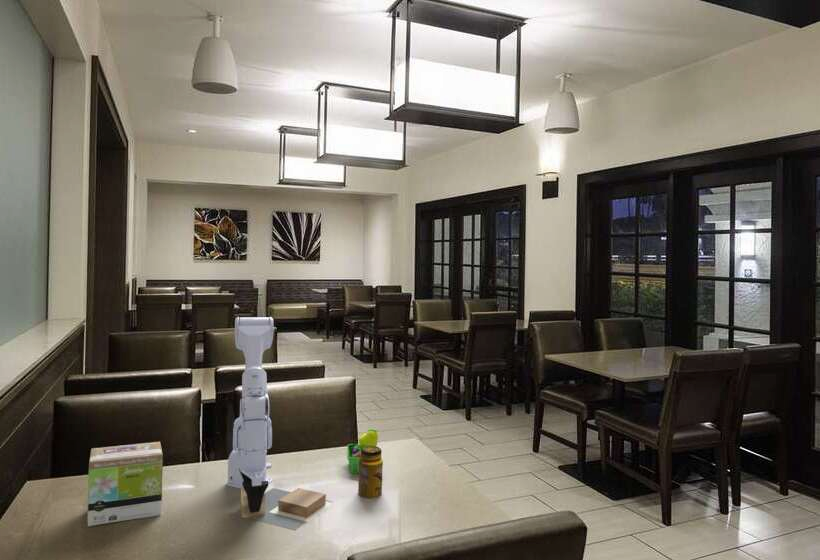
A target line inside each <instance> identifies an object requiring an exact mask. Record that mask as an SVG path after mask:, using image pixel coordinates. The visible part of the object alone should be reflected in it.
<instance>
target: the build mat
mask: <svg viewBox="0 0 820 560" xmlns="http://www.w3.org/2000/svg"><path fill="white" fill-rule="evenodd" d="M291 492H292V491H288V490H283V489H279V488H274V487H273V488H271V489H269V490H268V491H265V515H260V516H252V517H245V518H246V519H250V520H254V521H258V522H262V523H265V524H269V525H273V526H277V527H280V528H284V529H288V530H293V531H297V530H298V529H299V528H300V527H302V526H303V525H304V524H306V523H310V522H311V521H312V520H314V519H315V518H317V517H318V516H320V514H322V513H323V512H324V511H326V510H327V509H328V508H330V507H331V506H332V505H334V504H335V503H334V501H331V500H326V504H325V505H324V506H323V507H321V508H320V509H318V510H317V511H316V512H314V513H313V514H312V515H310V516H309V517H307V518H305V517H301V516H297V515H293V514H289V513H285V512H281V511H278V500H280V499H281V498H283V497H285V496H286V495H288V494H289V493H291ZM230 514H232V515H235V516H239V517H242V512H241V506H240V507H239V508H237V509H235V510H234V511H232V512H230Z"/></svg>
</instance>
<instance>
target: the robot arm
mask: <svg viewBox="0 0 820 560" xmlns="http://www.w3.org/2000/svg"><path fill="white" fill-rule="evenodd" d="M274 326H275V325H274V318H273V317H272V316H269V317H266V316H265V317H262V316H261V317H255V316H254V317H246V316H245V317H242V316H241V317H239V316H237V317H236V318H235V320H234V340H235V341H234V343H235V347H236V349H237V350H239V351H242V352H243V355H244V358H245V360H244V361H245V368H244V372H243V373H242V375H241V377H242V378H241V379H242V380H241V384H242V385H241V399H240V400H239V417H237V418H235V420H234V422H233V429H232V431H233V432H232V451H231V452H230V454H229V455H228V460H227V482H225V486H229V487H233V488H237V489H240V490H241V488H244V490H245V492H246V494H247V498H248V506H249V510H250V513H254V512H259V511H260V508H261V503H262V499H263V495H264V493H266V490H267V489H268V487H269V484H271V483H272V482H273V481H274V480H273V479H272V478H267V470H269V469H271V468H272V463H271V462H267V454H268V450H269V449H271V448H272V447H273V445H272V444H273V427H272V420H271V418H270V399H269V398H270V397H269V392H268V382H267V381H268V378H267V376H268V375H267V372H266V370H264V369H263V367H262V365H263V364H262V363H263V354H264V352H265V351H266V350H269V349H270V348H271V346H272V344H273V339H274V331H275V330H274Z"/></svg>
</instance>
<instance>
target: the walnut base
mask: <svg viewBox="0 0 820 560" xmlns="http://www.w3.org/2000/svg"><path fill="white" fill-rule="evenodd" d="M290 492H291V493H289V494H288V495H286V496H285V497H283V498H281V499H280V500H278V511H281V512H285V513H289V514H293V515H297V516H301V517H305V518H307V517H309V516H310V515H312V514H313V513H314V512H316V511H317V510H318V509H320V508H321V507H323V506H324V505H325V504H326V498H327V495H326V493H323V492H319V491H313V490H309V489H305V488H300V487H297V488H296V489H295V490H293V491H290Z"/></svg>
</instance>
